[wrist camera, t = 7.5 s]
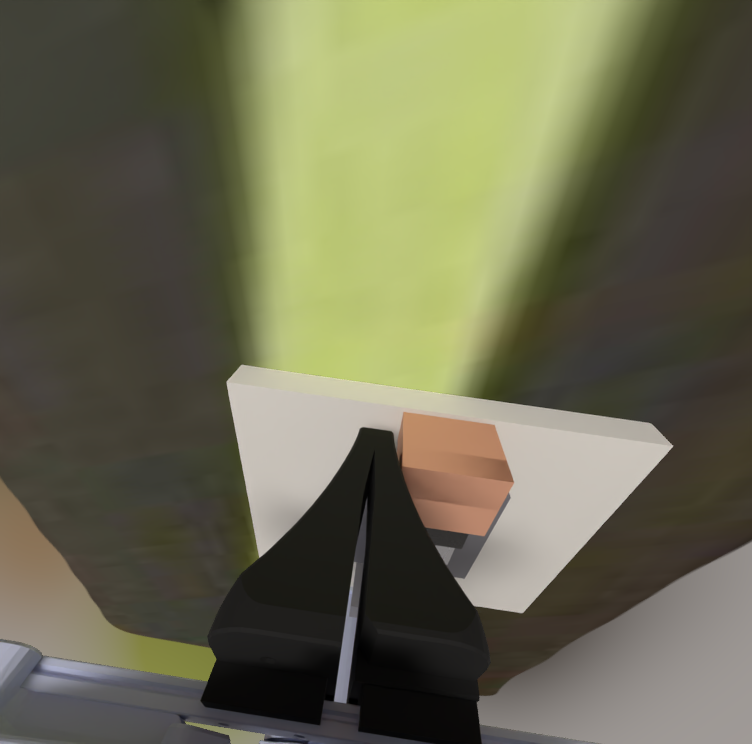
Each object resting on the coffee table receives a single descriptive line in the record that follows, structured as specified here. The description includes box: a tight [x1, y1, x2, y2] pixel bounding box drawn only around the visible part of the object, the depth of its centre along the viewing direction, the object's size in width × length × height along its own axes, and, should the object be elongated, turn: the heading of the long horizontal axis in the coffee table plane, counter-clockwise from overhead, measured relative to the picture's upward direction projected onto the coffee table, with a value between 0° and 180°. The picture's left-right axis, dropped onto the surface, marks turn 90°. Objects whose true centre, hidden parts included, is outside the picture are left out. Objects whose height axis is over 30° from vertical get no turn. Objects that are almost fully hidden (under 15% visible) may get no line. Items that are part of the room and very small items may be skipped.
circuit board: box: [227, 365, 673, 618], centre depth 18 cm, size 18×20×4 cm
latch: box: [397, 412, 514, 536], centre depth 13 cm, size 4×4×3 cm
